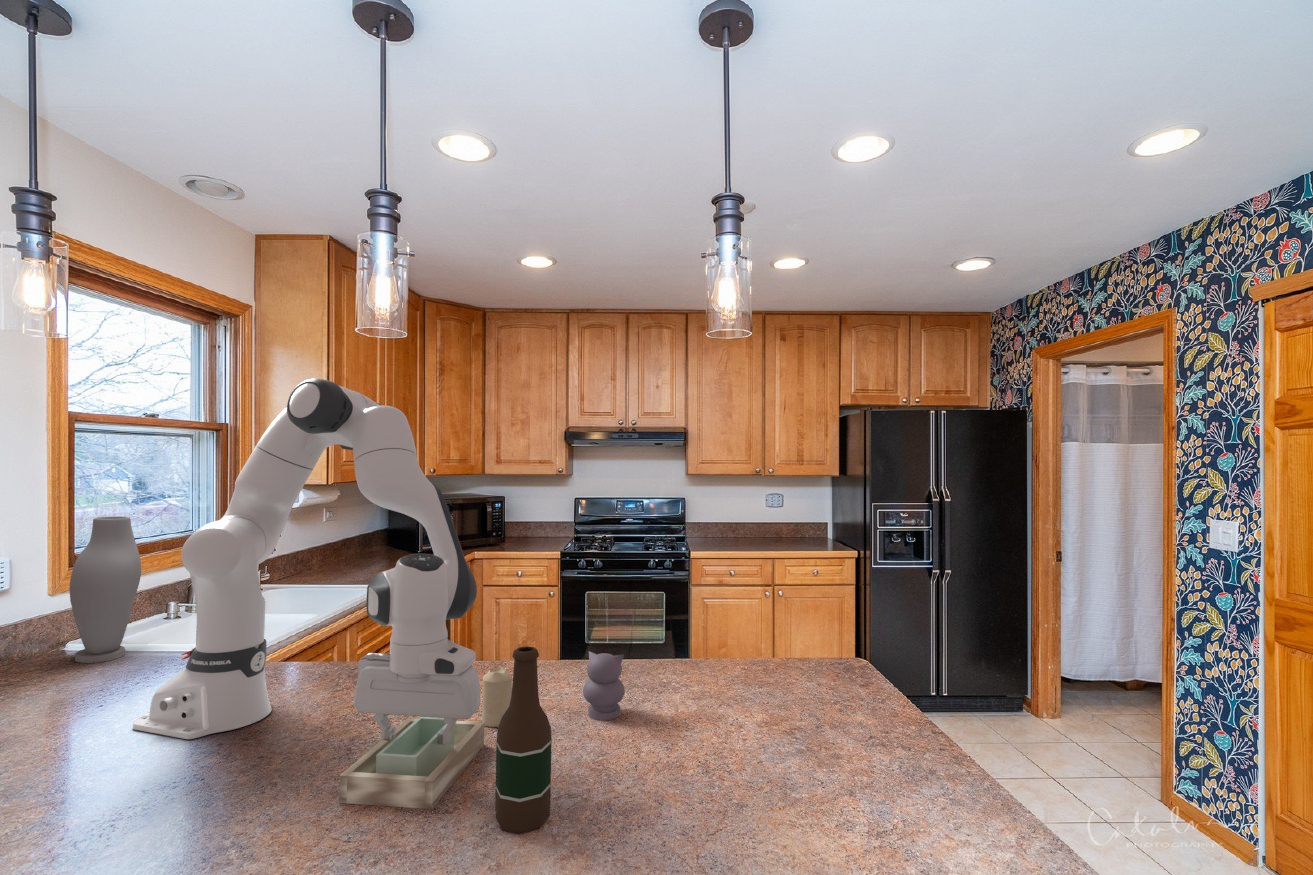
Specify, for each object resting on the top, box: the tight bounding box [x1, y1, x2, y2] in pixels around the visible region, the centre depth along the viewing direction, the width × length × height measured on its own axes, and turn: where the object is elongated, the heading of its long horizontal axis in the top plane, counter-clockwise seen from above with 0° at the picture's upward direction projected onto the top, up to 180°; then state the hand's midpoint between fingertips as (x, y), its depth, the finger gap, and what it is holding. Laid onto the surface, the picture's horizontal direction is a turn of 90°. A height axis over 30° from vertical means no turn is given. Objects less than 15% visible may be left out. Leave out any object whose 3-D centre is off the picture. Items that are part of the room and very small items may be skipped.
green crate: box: [376, 716, 455, 777], centre depth 101 cm, size 6×14×5 cm, turn 175°
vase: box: [68, 515, 142, 664], centre depth 156 cm, size 13×13×35 cm
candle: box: [481, 667, 513, 728], centre depth 121 cm, size 6×6×10 cm
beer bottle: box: [494, 645, 552, 835], centre depth 89 cm, size 8×8×24 cm
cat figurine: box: [582, 650, 626, 722], centre depth 125 cm, size 8×8×12 cm
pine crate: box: [338, 717, 485, 810], centre depth 101 cm, size 14×20×4 cm
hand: (415, 741), depth 101 cm, fingers open, 8 cm apart
